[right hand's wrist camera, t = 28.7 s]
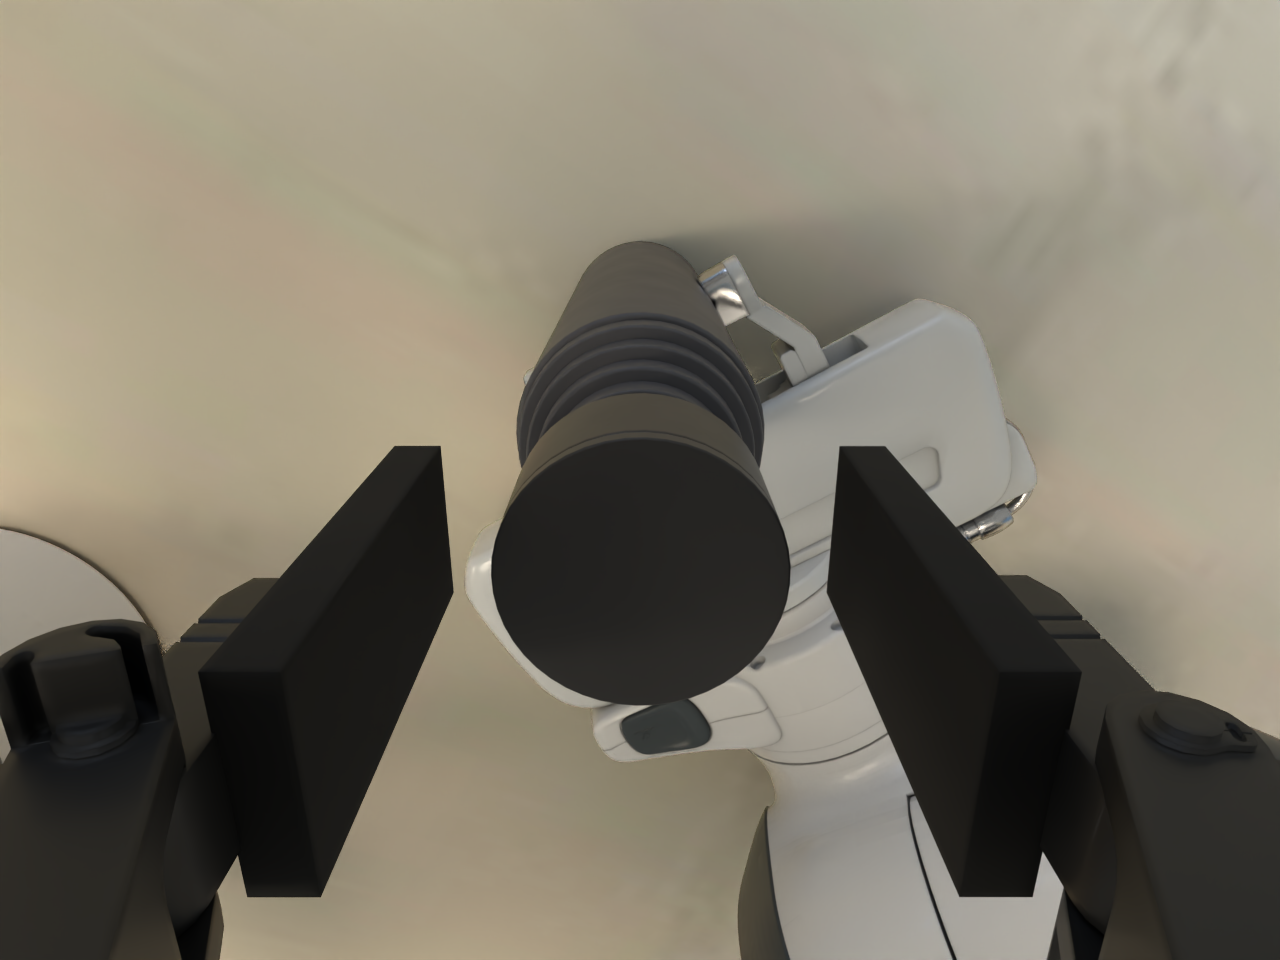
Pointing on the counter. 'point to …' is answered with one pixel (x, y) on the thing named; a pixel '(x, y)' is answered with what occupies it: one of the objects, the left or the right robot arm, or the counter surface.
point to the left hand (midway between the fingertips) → (626, 316)
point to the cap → (640, 553)
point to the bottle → (640, 347)
